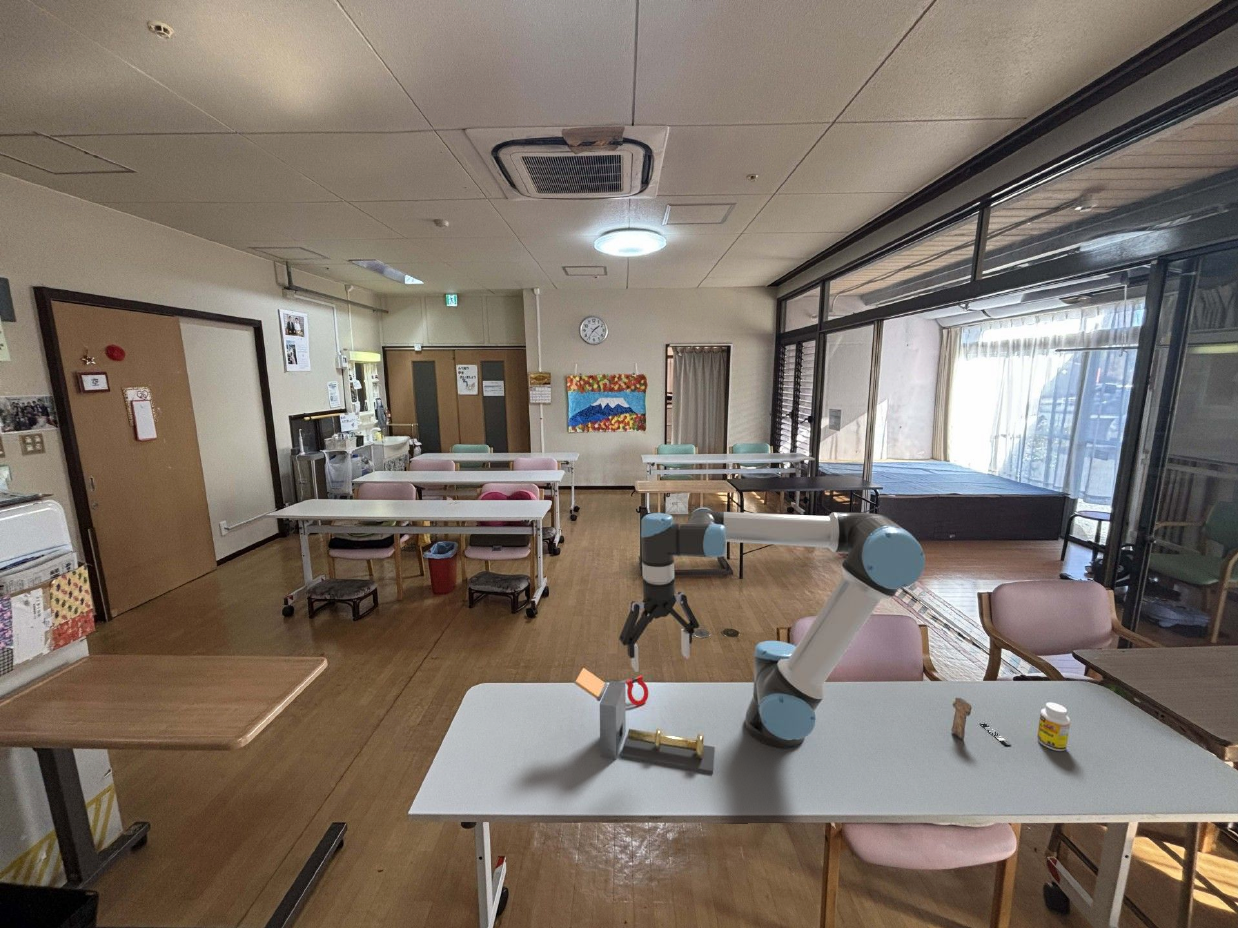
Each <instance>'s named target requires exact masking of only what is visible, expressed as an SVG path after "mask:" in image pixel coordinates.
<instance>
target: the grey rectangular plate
mask: <svg viewBox="0 0 1238 928" xmlns="http://www.w3.org/2000/svg"><path fill="white" fill-rule="evenodd" d="M626 694H627V693H626V683H623V682H620V681H614V680H609V683H608V685H607V687H606V689H605V691H604V694H603V696H602V698H601V700H600V701H599V702H600V703H599V745H600V746H599V747H600V748H599V749H600V751H599V753H600V755H599V757H600V758H604V759H610V760H617V759H618V755H619V753H620V751H621V750H620V749H621V748H622V747H621V746H622V744H623V740H624V738H625V735H626V731H627V730H626V727H627V725H626V724H627V723H626V721H627V719H626V714H627V713H626V696H627V695H626Z"/></svg>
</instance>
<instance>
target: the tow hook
mask: <svg viewBox="0 0 1238 928" xmlns="http://www.w3.org/2000/svg"><path fill="white" fill-rule="evenodd" d="M643 679H644V677H643V675H637V676H634V677H631V678H627V679H623V680H620V681H619V682H623V683H625V685H626V687H627V693H626V694H627V695H626V696H627V698H628V700H629V701H630V703H631V704H633V705H635V706H642V705H644V704H645V703H646V702H647V700H648V697H649V689H648V686H647V684H646V683H645V681H643ZM634 683H637V684H638V685H640V686H641V687H642V690H643V696H642V698H641V699H640V700H637V699H636V698H634V696H633V694H632V693H633V688H634Z"/></svg>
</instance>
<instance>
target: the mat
mask: <svg viewBox="0 0 1238 928" xmlns="http://www.w3.org/2000/svg"><path fill="white" fill-rule="evenodd" d="M715 749H716V747H715V746H711V745H705V744H704V748H703V758H697V757H696V751H692V750H687V749H681V748H675V747H669V746H663V745H661V747H660V750H659V749H655V744H651V743H646V742H640V741H634V740H628V735H626V739H625V742H624V745H623V748H622V751H621V754H620V758H622V759H627V760H633V761H638V762H639V761H640V762H644V763H650V764H655V765H660V766H661V765H662V766H667V767H673V768H677V769H684V770H689V771H694V772H700V773H706V774H710V775H713V773H714V764H715V763H714V762H715V752H716V751H715Z"/></svg>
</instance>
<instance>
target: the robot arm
mask: <svg viewBox="0 0 1238 928" xmlns="http://www.w3.org/2000/svg"><path fill="white" fill-rule="evenodd" d="M687 519H688V520H687V522H686V523H678V522H677V523H676V522H674V521H675V520H674V518H673V516H672V515H671V514H669V513H663V512H654V513H648V514H646V515H644V516H643V518H642V519H641V528H640V529H641V531H640V532H641V533H640V539H641V541H640V542H641V567H642V579H643V580H642V595H643V600H642V601H641V602H636V601H633V600H632V601H631V602H630V610H629V613H628V615H627V618H626V620H625V623H624V625H623V628H622V630H621V633H620V635H619V638H618V640H619V641H620V643H621V644H622V645H623V646H626V647H627V648H626V649H627V655H628V657H629V658H630V659H631V661H630V663H631V668H632V669H633V670H634V672H635V673H638V672H640V667H639V666H640V665H639V664H640V663H639V645H638V644H637V642H638V640H639V639H640V637H641V635H643V633H644V632H645V630H646V628H647V627H648V625H649V624H650V623H652V621H653V620H654V619H655V620H657V619H660V618H666V617H668V616H669V614H670V615H671V616H672V617H673V618H674V619H675V620H676V621H677V623H679V624H680V625H681V626H682V627H683V628H681V629H680V634H681V635H680V636H681V637H680V638H681V639H680V640H681V642H680V643H681V647H680V648H681V655H682V656H683V657H684V658H686V660H688V659H691V657H690V654H691V653H690V645H691V644H692V643H693V634H694V633H695V629H699V628H700V624H699V622H698V620H697V618H696V617H695V614H694V612H693V610H692V609H691V607H690V605H689V603H688V597H687V595H686V594H684V592H682V591H678V593H677V594H676V590H675V589H676V587H675V586H676V585H675V557H697V558H698V557H699V558H708V559H709V558H711V559H712V558H721V557H724V556H726V551H727V546H726V545H727V544H726V543H728V542H729V543H744V544H745V543H746V544H762V545H763V544H764V545H765V544H766V545H779V546H780V545H781V546H796V547H797V546H798V547H811V548H812V547H813V548H814V547H817V548H828V549H829V550H830V551H831V552H833V553H843V554H847V555H846V557H845V559H844V560H843V562H842V563H841V564H840V566H841V571H842V577H841V578H840V580H839V582H838V583H837V584H836V586H835V588H834V589H833V590H832V592H831V594H830V595H829V597H828V599H826V602H825V603H824V605H823V606H822V607H821V609H820V610H819V612H818V614H816V617H815V619H814V620H813V621H812V623H811V624H810V626H809V627H808V629H807V631H806V632H805V633H804V635H803V637H802V638H801V639H800V641H799V643H798V644H797V645H794V644H792V643H789V642H785V641H780V640H765V641H760V642H758V643H757V644H756V646H755V647H754V648H755V649H754V653H753V657H754V663H753V664H754V665H753V667H754V668H753V688H752V691H753V693H752V695H753V696H752V698H751V701H750V703H749V705H748V708H747V709H746V712H745V727H746V729H747V731H748V733H749V734H750V735H751V736H752V737H753V738H755V739H756V740H757V741H759V742H761V743H762V744H765V745H768V746H771V747H773V748H774V747H775V748H781V749H782V748H783V749H784V748H785V749H786V748H794V747H795V746H798V745H800V744H801V743H803V741H804V740H805V738H807V737H808V736H809V735H810V734H812V732H813V731H814V729H815V726H816V720H817V717H816V713H815V711H816V709H817V708H818V707H819V705H820V704H821V702H822V701H823V699H824V698H825V696H826V692H825V688H824V684H825V682H826V681H827V679H828V678H829V677H830V674H831V673H832V672H833V670H834V669H835V667H836V666H837V665H838V663H839V662H840V660H841V659H842V658H843V656H844V654H845V653H846V651H848V648H849V647H850V645H851V644H852V643H853V641H854V640H855V638H856V637H857V636H858V634H859V632H860V631H861V630H862V628H863V627H864V625H865V624H866V622H867V621H868V620H869V618H870V617H871V615H872V614H873V612H874V611H875V609H876V608H877V606H878V605H879V603H880V602H881V601H882V600H884V599H892V598H893V597H895V595H896V593H897V592H898V591H899V590H900V589H903V588H906V587H907V588H908V587H910V586H912V585H913V584H915V583H916V582H917V581H918V580H919V579H920V577H922V575H923V573H924V570H925V565H926V557H925V553H924V550H923V548H922V545H921V543H919V541H918V540H917V539H916V537H915V536H913V535H912V533H911V532H909V531H908V530H906V529H904V528H903V527H901V526H900V525H899V524H898V523H896V522H895V521H893V520H892V519H890V518H889V517H887V516H885V515H883V514H877V513H870V512H869V513H868V512H839V511H838V512H837V511H836V512H835V511H834V512H833V511H832V512H831V513H829V515H811V514H810V515H809V514H807V515H806V514H805V515H803V514H788V513H787V514H783V513H782V514H781V513H760V512H759V513H758V512H755V513H754V512H737V511H736V512H734V511H733V512H732V511H715V510H712V509H710V508H709V507H698V508H696V509H694V510H693V511H692V512H691V514H690V515H689V517H688V518H687ZM675 594H676V595H675ZM676 602H677V603H678V604H679V605H680V607H681V609H682V612H683V613H684V615H685V616H686V618H687V620H688V622H687V621H686V620H685V619H684V618H683V617H682V616H681V615H680V614H679V613H678V612H677V610H675V608H674V607H675V605H676ZM642 609H643V611H642ZM640 613H641V616H639V615H640Z"/></svg>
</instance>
